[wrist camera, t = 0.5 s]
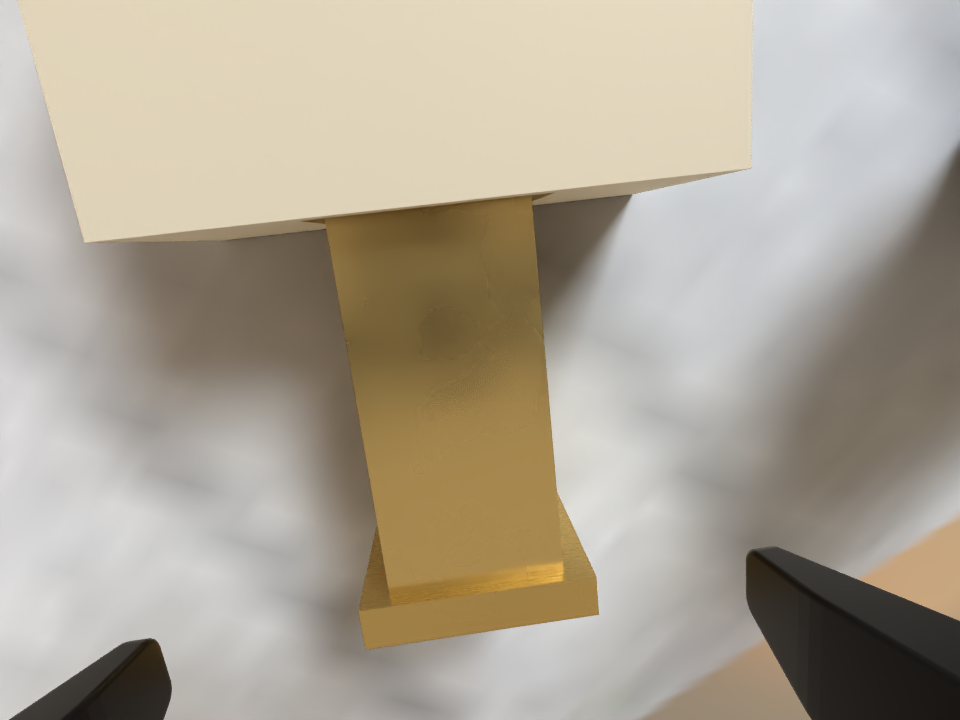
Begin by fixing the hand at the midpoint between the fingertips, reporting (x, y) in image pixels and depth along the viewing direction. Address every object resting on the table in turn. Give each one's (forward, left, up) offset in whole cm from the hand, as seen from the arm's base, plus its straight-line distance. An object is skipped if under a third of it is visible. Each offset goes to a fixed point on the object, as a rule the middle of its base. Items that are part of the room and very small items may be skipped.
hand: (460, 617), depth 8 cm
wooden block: (0, -4, -12) cm, 12 cm away
